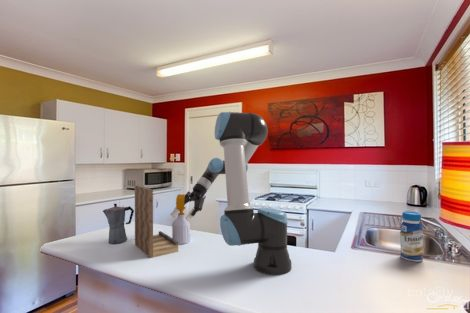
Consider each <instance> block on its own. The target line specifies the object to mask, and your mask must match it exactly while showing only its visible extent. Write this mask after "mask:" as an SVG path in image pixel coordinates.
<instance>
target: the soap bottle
mask: <svg viewBox="0 0 470 313" xmlns="http://www.w3.org/2000/svg"><path fill="white" fill-rule="evenodd" d="M185 195H186V194H185V193H184V194H177V196H176V200H175V207H176V209H179V212H178V213H177V218H175V219H174V220H173V221H172V226H171V230H172V231H171V232H172V233H171V235H172V237H171V238H173V239H174V240H176V241H178V245H186V244H188V243H190V242H191V221H190V222H188V221H187V220H186V217H185V212H184V210H185V209H186V206H185V205H184V198H185Z"/></svg>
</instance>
